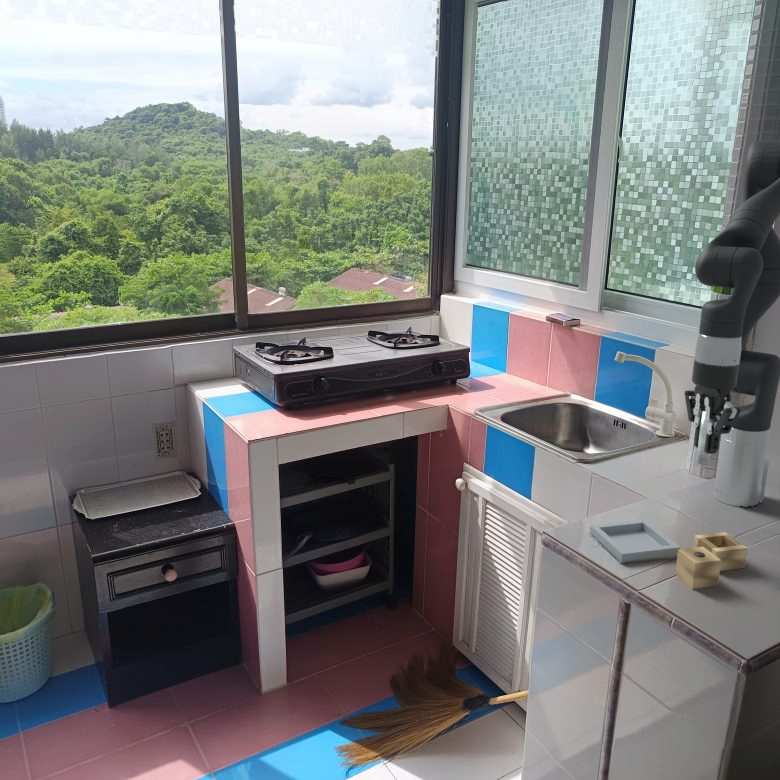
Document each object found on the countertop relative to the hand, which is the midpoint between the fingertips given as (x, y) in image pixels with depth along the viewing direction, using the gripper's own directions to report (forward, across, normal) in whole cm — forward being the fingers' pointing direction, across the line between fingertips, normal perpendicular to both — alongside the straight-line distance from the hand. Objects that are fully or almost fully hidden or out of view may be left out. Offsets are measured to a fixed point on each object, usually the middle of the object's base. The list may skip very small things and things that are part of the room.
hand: (705, 449), depth 137 cm
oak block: (+19, -7, -1) cm, 21 cm away
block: (+20, -12, +7) cm, 24 cm away
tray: (+19, +2, +12) cm, 23 cm away
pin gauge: (+3, 0, 0) cm, 3 cm away
